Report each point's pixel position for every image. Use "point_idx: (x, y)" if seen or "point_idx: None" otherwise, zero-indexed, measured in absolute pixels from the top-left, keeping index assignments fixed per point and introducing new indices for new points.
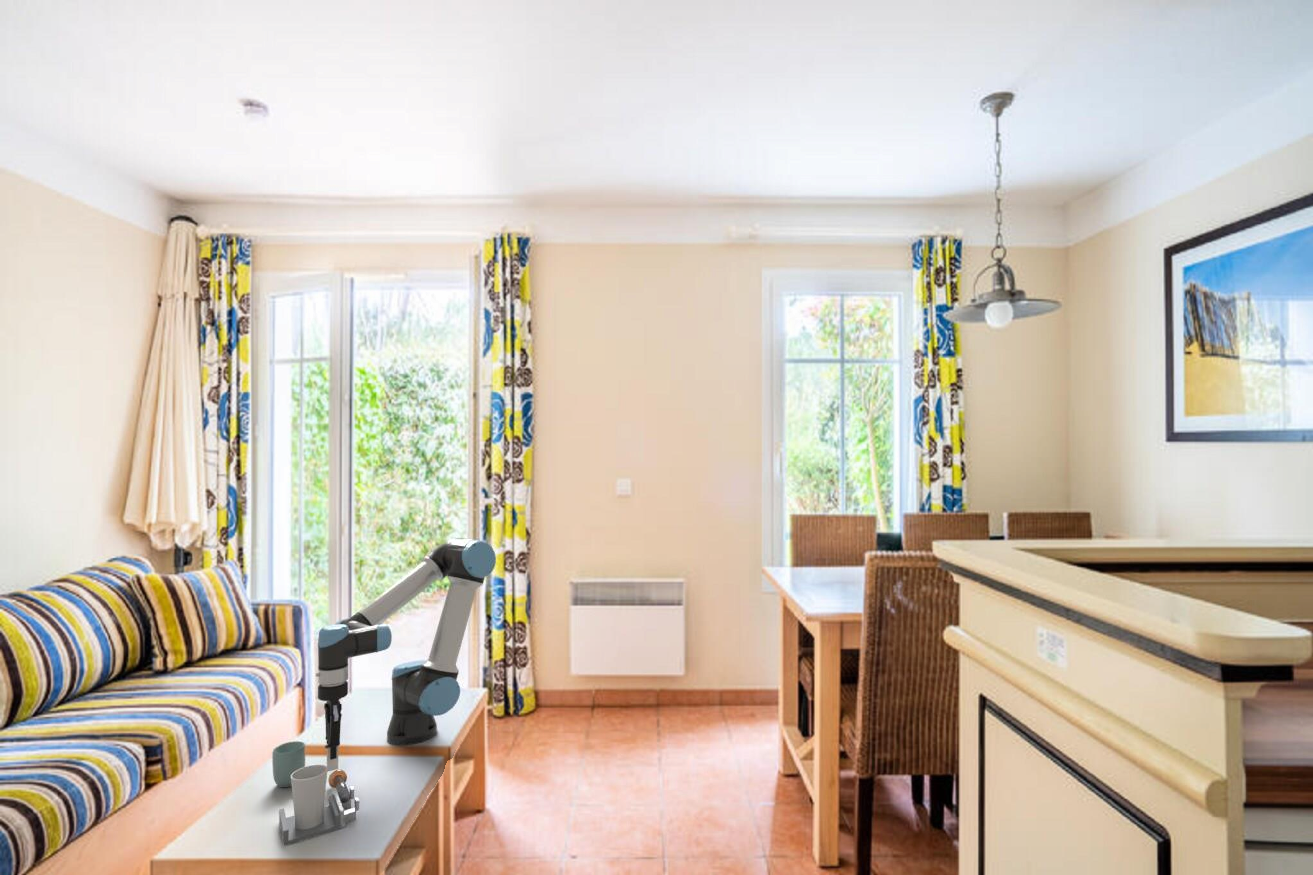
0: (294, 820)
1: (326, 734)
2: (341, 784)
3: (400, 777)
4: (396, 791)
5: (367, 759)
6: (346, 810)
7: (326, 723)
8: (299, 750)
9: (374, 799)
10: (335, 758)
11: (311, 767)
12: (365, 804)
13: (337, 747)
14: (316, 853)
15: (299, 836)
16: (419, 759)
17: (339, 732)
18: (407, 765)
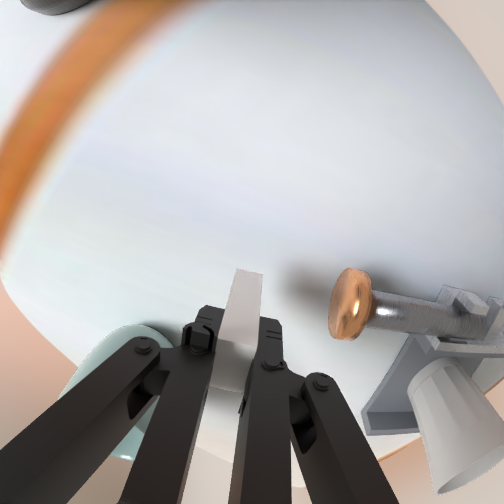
0: (397, 399)
1: (145, 412)
2: (438, 329)
3: (413, 78)
4: (484, 153)
5: (138, 90)
6: (492, 324)
7: (101, 463)
8: (146, 426)
9: (474, 223)
10: (276, 323)
11: (456, 470)
12: (474, 254)
13: (256, 340)
14: (499, 373)
15: None
16: None
17: (374, 464)
18: (332, 7)
